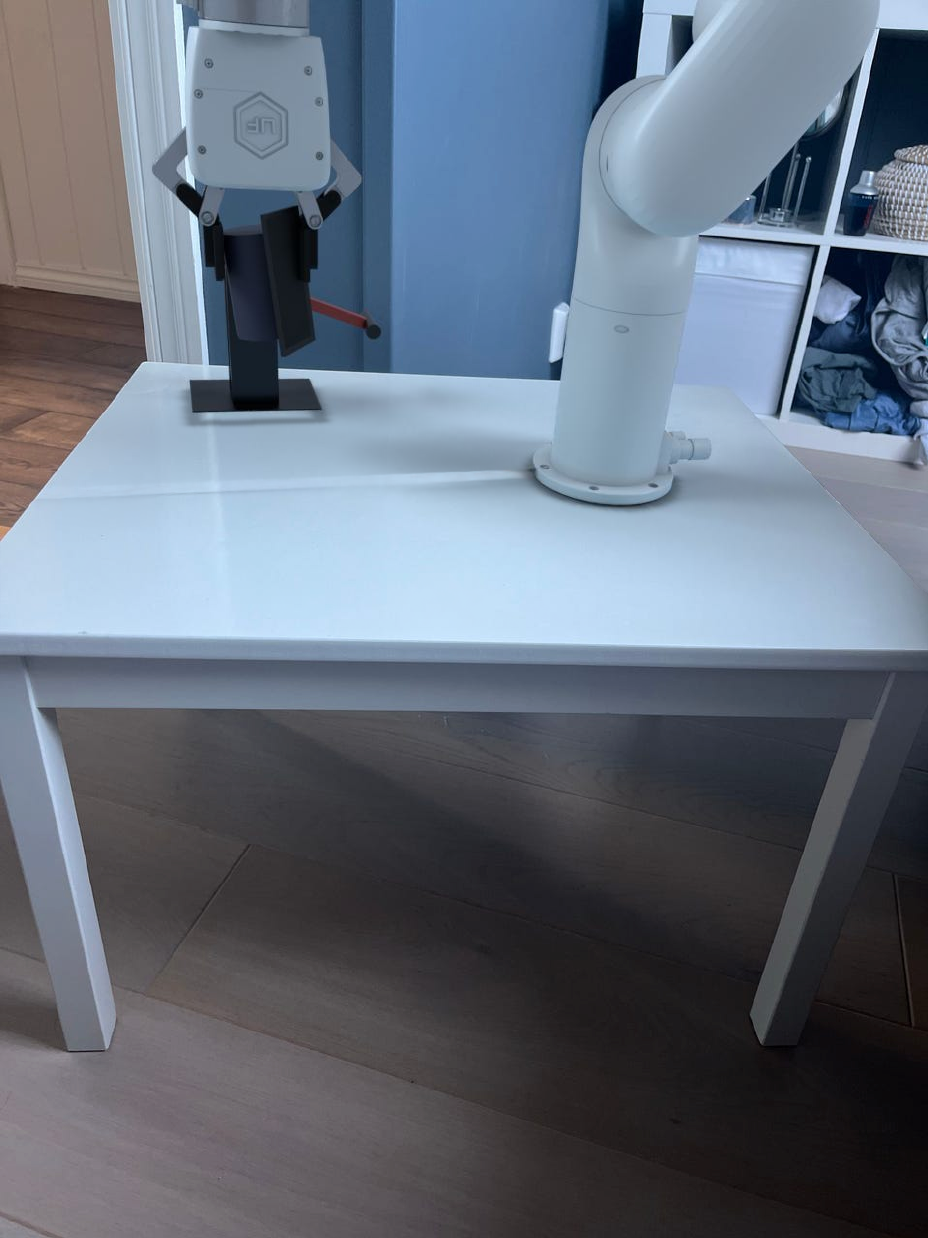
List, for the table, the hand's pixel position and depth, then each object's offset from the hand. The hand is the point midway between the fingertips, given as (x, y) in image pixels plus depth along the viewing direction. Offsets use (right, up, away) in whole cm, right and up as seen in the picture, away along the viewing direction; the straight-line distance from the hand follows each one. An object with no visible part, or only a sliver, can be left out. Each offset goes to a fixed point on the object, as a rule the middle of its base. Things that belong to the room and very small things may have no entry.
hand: (262, 275), depth 76 cm
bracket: (-5, -6, +20) cm, 21 cm away
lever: (+1, +2, +16) cm, 17 cm away
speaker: (0, -4, +3) cm, 5 cm away
